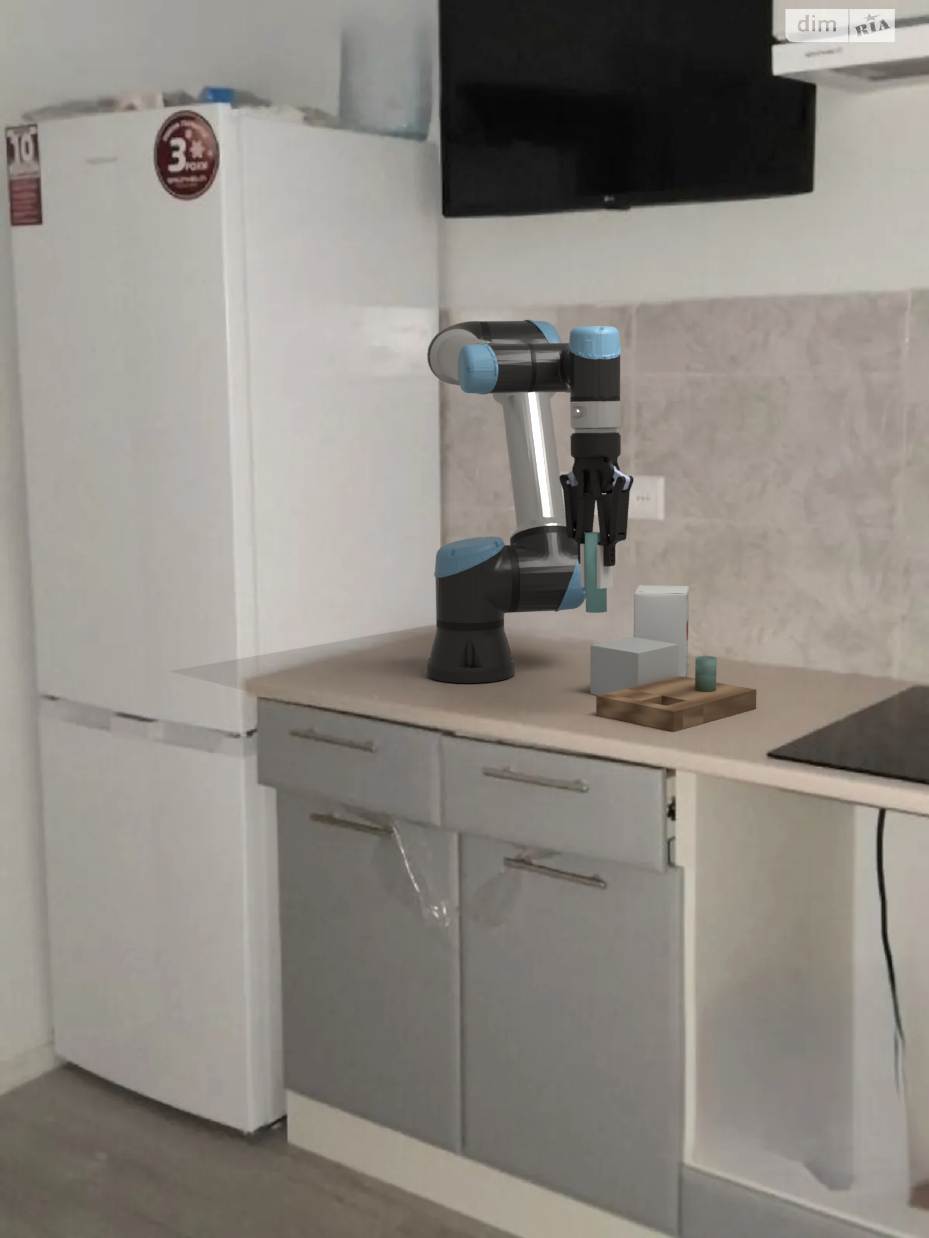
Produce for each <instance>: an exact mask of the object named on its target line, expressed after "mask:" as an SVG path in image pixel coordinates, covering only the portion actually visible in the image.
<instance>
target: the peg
mask: <svg viewBox="0 0 929 1238" xmlns="http://www.w3.org/2000/svg"><path fill="white" fill-rule="evenodd" d="M597 542H601V539H600V531H593V532H586V533H585V581H586V598H585V612H586V613H591V614H598V613H607V612H608V610H607V609H608V595H607V594H608V592H607V591H608V588H602V589H599V588H597V545H598V543H597Z"/></svg>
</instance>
